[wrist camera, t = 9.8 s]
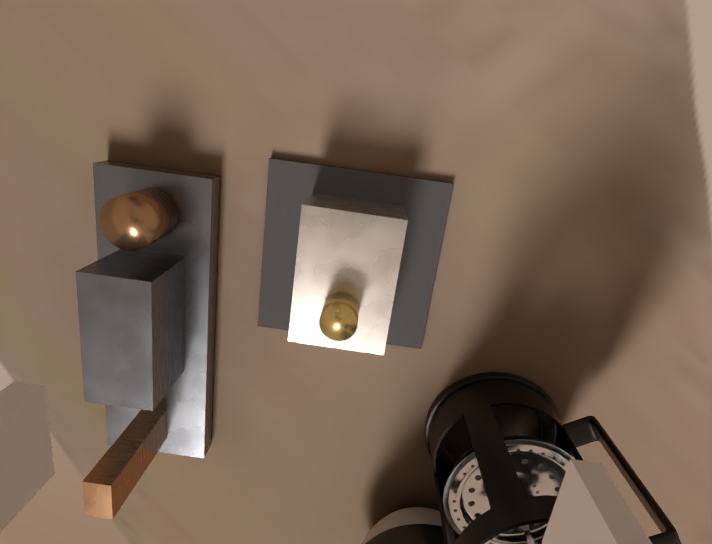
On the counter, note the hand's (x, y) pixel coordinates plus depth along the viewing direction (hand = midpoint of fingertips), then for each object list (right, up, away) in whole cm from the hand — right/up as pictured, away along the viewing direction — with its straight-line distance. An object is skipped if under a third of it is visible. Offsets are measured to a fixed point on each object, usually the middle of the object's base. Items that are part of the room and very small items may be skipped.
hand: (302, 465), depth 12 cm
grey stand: (-12, +2, +20) cm, 23 cm away
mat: (+1, +6, +18) cm, 19 cm away
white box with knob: (+1, +6, +17) cm, 18 cm away
